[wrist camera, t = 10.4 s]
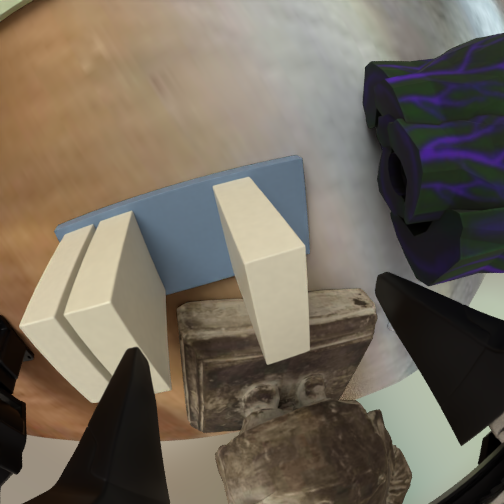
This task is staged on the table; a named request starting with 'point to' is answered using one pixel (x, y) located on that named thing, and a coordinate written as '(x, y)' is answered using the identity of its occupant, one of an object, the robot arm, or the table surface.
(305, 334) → the white box
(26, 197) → the table surface
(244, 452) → the sculpture
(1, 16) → the green base board
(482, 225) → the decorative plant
